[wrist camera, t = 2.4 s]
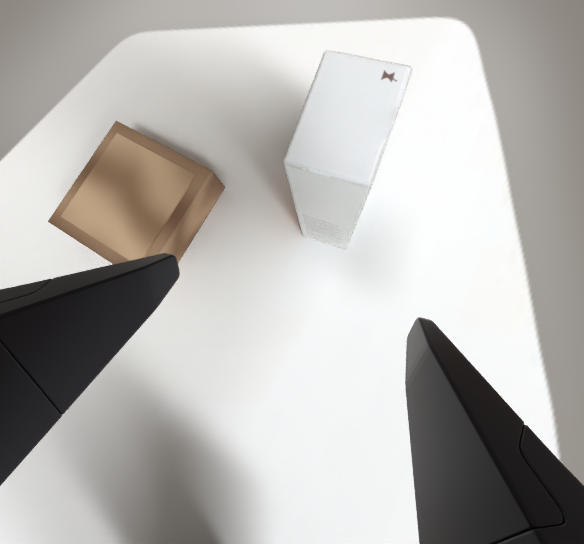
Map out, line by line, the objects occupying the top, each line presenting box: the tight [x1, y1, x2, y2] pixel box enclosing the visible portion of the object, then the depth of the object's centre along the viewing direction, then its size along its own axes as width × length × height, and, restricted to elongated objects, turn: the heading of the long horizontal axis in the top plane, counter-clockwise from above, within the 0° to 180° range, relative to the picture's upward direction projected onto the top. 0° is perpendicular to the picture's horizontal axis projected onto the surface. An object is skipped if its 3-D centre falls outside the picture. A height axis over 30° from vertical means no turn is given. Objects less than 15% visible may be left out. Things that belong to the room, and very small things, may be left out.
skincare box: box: [283, 51, 412, 249], centre depth 17 cm, size 6×4×12 cm
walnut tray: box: [48, 121, 225, 264], centre depth 23 cm, size 11×11×3 cm
